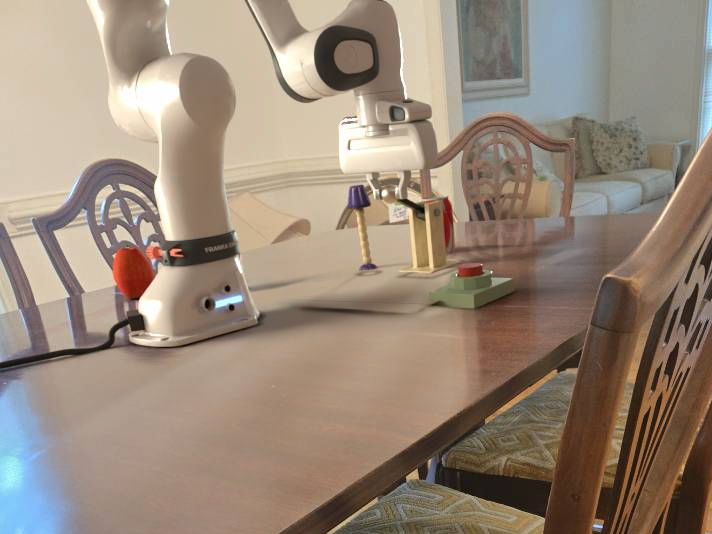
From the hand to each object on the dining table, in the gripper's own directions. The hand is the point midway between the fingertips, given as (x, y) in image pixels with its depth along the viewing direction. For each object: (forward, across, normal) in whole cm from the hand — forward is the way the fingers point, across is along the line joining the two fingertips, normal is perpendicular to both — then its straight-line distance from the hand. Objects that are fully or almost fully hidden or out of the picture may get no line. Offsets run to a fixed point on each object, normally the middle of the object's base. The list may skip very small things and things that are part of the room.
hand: (390, 199), depth 139 cm
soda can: (+15, -8, +24) cm, 29 cm away
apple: (+15, -52, -23) cm, 59 cm away
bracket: (+15, 0, +10) cm, 18 cm away
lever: (+3, 0, +4) cm, 5 cm away
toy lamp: (+15, -14, +7) cm, 22 cm away
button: (+11, +22, -8) cm, 26 cm away
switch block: (+15, +22, -8) cm, 28 cm away
